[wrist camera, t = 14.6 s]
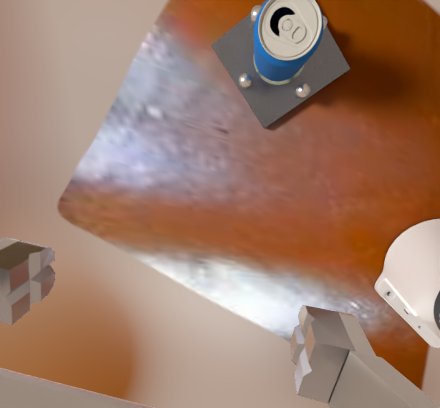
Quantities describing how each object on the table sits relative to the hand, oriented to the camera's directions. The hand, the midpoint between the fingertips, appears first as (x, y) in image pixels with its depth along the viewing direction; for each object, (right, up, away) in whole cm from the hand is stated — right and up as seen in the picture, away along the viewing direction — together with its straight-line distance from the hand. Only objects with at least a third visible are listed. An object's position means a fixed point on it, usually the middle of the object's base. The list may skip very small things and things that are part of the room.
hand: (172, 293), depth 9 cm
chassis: (+9, +22, +29) cm, 38 cm away
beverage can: (+9, +22, +28) cm, 37 cm away
